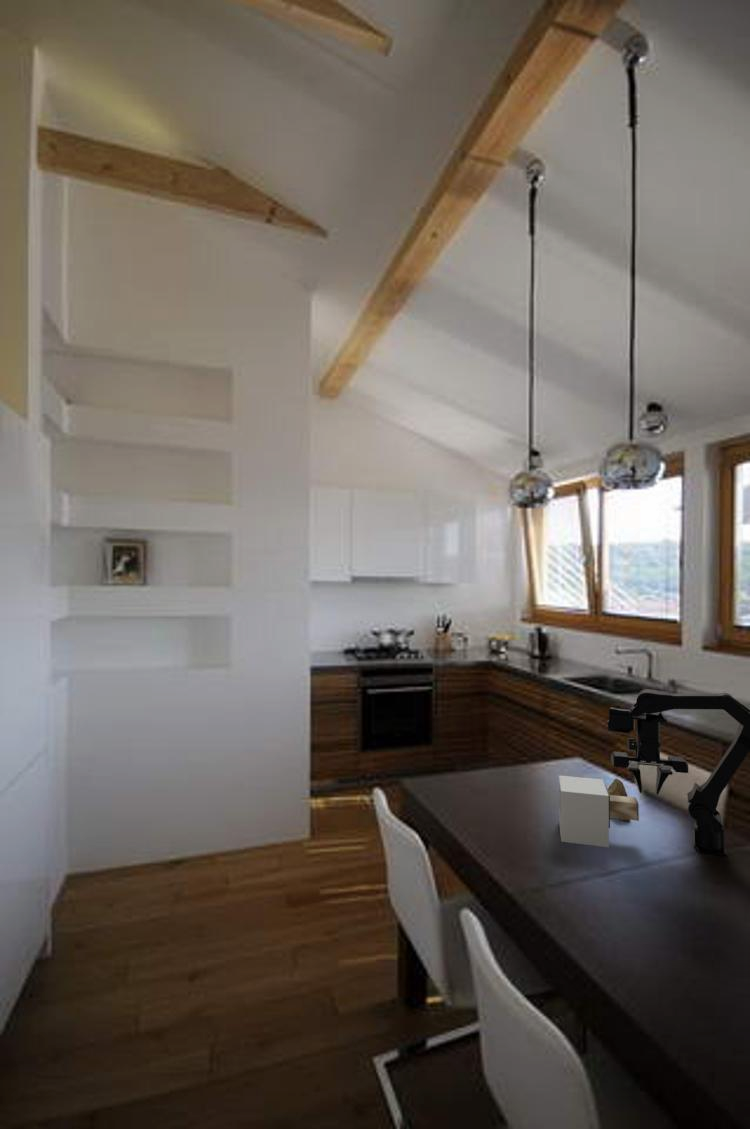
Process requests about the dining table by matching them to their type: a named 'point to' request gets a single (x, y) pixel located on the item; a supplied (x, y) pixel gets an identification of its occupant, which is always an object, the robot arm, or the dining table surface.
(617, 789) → the rock
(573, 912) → the dining table surface
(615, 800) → the peg
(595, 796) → the off-white upright box
